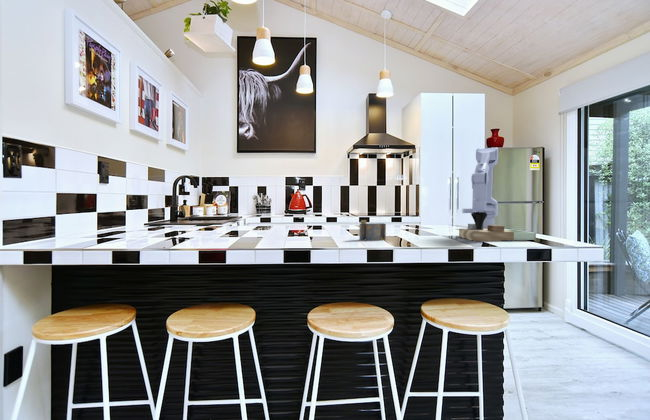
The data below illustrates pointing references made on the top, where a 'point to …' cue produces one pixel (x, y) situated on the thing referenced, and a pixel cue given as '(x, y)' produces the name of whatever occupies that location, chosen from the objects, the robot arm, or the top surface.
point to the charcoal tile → (473, 227)
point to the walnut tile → (496, 228)
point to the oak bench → (485, 235)
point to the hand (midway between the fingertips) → (478, 229)
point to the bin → (523, 235)
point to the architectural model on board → (372, 231)
